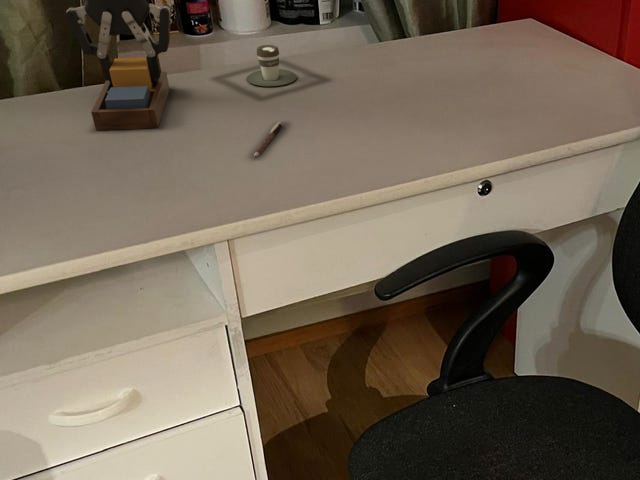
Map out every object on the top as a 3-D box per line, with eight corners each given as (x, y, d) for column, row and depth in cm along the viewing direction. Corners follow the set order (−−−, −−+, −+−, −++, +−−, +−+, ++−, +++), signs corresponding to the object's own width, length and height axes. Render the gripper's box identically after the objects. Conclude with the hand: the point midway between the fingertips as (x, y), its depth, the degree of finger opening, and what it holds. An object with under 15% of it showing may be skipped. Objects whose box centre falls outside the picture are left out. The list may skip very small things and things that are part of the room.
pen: (279, 125, 120) (278, 119, 119) (284, 126, 120) (283, 119, 119) (251, 159, 111) (250, 152, 110) (257, 159, 111) (256, 152, 110)
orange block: (114, 91, 123) (109, 70, 121) (119, 79, 126) (114, 58, 125) (151, 89, 123) (146, 68, 121) (155, 77, 127) (150, 57, 125)
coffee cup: (280, 61, 141) (276, 30, 138) (325, 80, 134) (323, 48, 131) (216, 78, 134) (210, 45, 131) (260, 99, 127) (256, 65, 124)
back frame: (95, 130, 117) (91, 112, 115) (113, 90, 129) (109, 73, 127) (158, 127, 118) (154, 109, 116) (169, 88, 130) (166, 71, 128)
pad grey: (110, 121, 118) (104, 100, 116) (115, 108, 122) (110, 87, 120) (148, 120, 118) (143, 98, 117) (152, 106, 122) (148, 85, 121)
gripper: (165, -52, 118) (187, 71, 129) (54, -51, 116) (86, 75, 126) (159, -40, 113) (183, 89, 123) (42, -38, 110) (77, 93, 121)
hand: (134, 81), depth 125 cm, fingers closed on orange block, 5 cm apart
